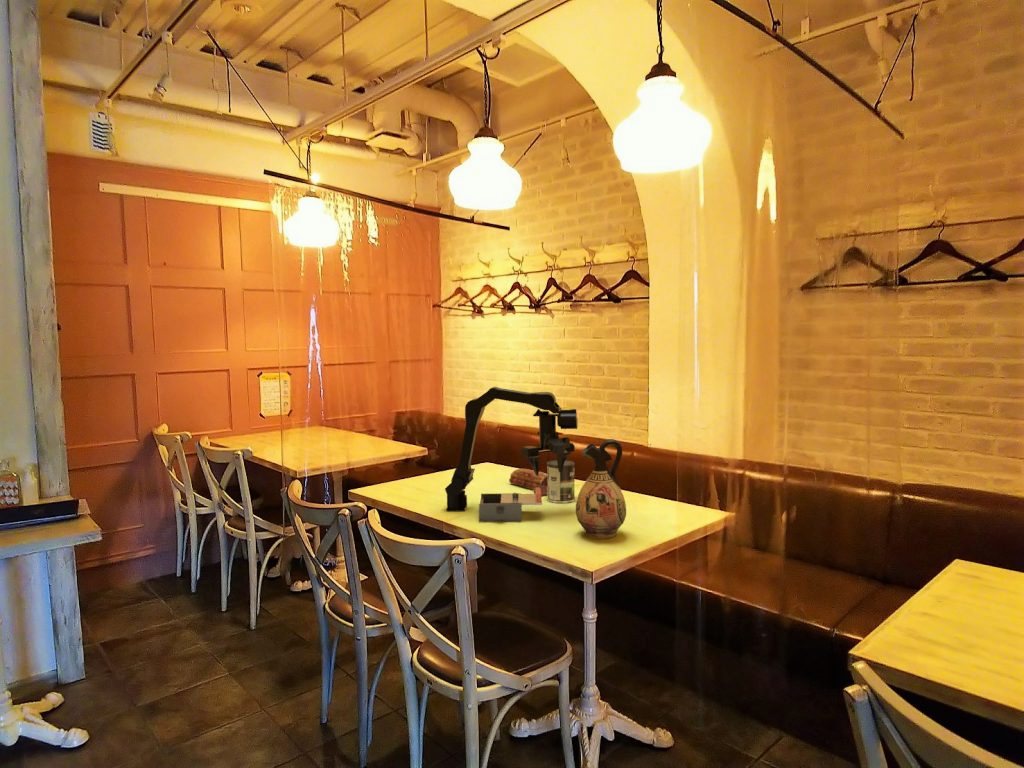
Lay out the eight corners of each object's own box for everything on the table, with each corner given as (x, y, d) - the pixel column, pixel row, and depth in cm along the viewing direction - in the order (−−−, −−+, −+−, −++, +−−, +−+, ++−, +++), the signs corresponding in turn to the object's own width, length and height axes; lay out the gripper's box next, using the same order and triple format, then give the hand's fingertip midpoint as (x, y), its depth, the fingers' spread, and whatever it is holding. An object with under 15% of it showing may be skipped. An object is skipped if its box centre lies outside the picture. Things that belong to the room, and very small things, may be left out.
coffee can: (576, 496, 243) (576, 460, 242) (573, 504, 233) (573, 465, 232) (549, 495, 245) (549, 459, 244) (545, 502, 235) (545, 464, 234)
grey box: (478, 524, 209) (478, 506, 208) (481, 508, 228) (481, 491, 227) (521, 523, 209) (521, 505, 208) (521, 508, 228) (521, 491, 227)
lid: (500, 505, 212) (500, 495, 212) (501, 496, 224) (501, 486, 223) (542, 505, 212) (542, 494, 212) (540, 496, 224) (540, 486, 223)
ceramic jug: (576, 542, 190) (577, 442, 188) (574, 527, 205) (574, 434, 203) (634, 543, 189) (635, 442, 187) (627, 527, 204) (628, 434, 202)
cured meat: (540, 498, 242) (540, 480, 241) (500, 486, 261) (500, 470, 261) (575, 492, 253) (575, 475, 252) (534, 481, 272) (534, 465, 272)
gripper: (535, 434, 208) (537, 481, 209) (583, 429, 217) (584, 474, 218) (519, 430, 218) (520, 475, 219) (565, 425, 227) (566, 469, 228)
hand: (548, 473), depth 221 cm, fingers open, 9 cm apart
